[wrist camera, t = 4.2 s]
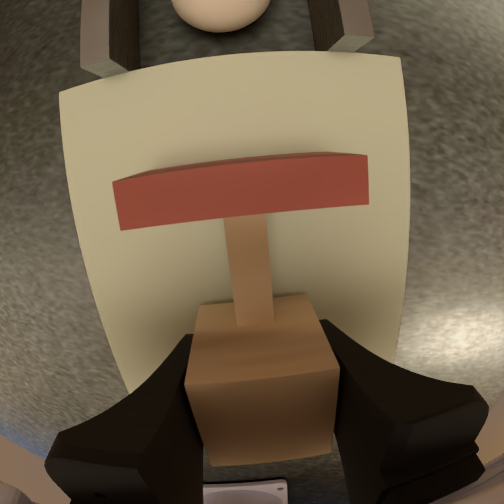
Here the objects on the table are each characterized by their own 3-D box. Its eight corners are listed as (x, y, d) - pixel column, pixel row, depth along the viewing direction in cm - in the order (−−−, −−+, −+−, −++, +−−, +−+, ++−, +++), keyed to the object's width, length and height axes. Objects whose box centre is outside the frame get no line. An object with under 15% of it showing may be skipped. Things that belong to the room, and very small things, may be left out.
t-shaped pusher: (329, 371, 13) (358, 446, 9) (193, 386, 13) (182, 466, 9) (328, 151, 10) (385, 157, 6) (148, 170, 10) (95, 187, 6)
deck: (372, 402, 17) (381, 419, 15) (157, 426, 16) (153, 445, 15) (383, 65, 11) (400, 57, 10) (75, 96, 11) (58, 92, 9)
